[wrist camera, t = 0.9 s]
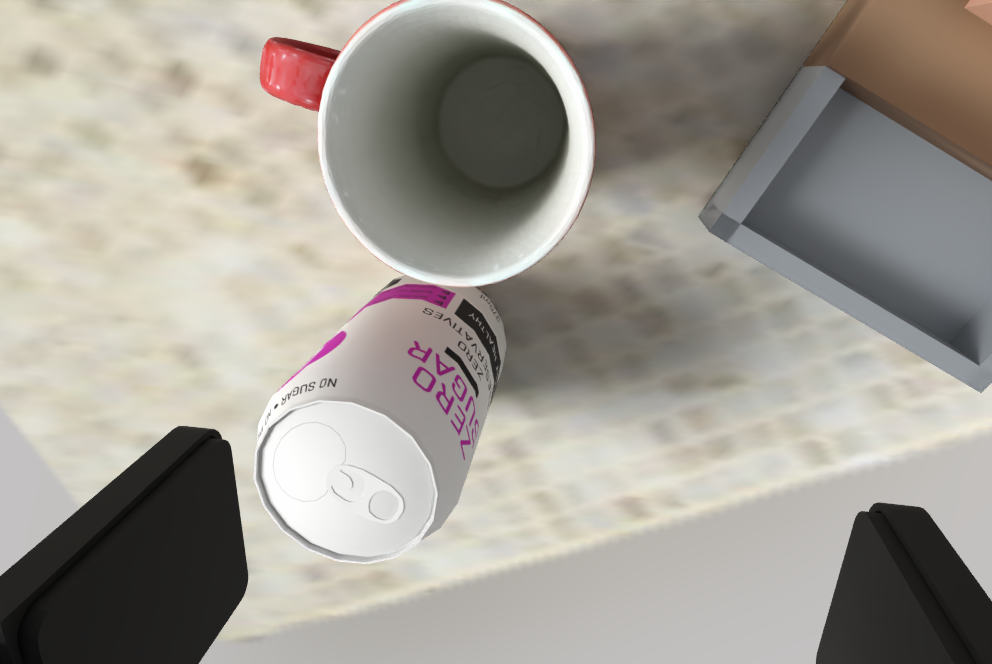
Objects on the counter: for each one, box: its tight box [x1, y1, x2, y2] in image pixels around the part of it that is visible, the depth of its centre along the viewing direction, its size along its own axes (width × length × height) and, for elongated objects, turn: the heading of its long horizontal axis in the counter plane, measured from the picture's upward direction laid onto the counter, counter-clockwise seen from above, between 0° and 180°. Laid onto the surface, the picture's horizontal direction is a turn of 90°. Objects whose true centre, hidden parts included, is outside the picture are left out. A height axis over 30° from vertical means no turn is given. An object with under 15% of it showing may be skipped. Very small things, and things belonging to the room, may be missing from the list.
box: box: [698, 66, 992, 393], centre depth 31 cm, size 8×15×4 cm, turn 61°
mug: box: [260, 0, 596, 287], centre depth 27 cm, size 13×9×14 cm
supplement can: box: [254, 275, 507, 564], centre depth 31 cm, size 8×8×15 cm
